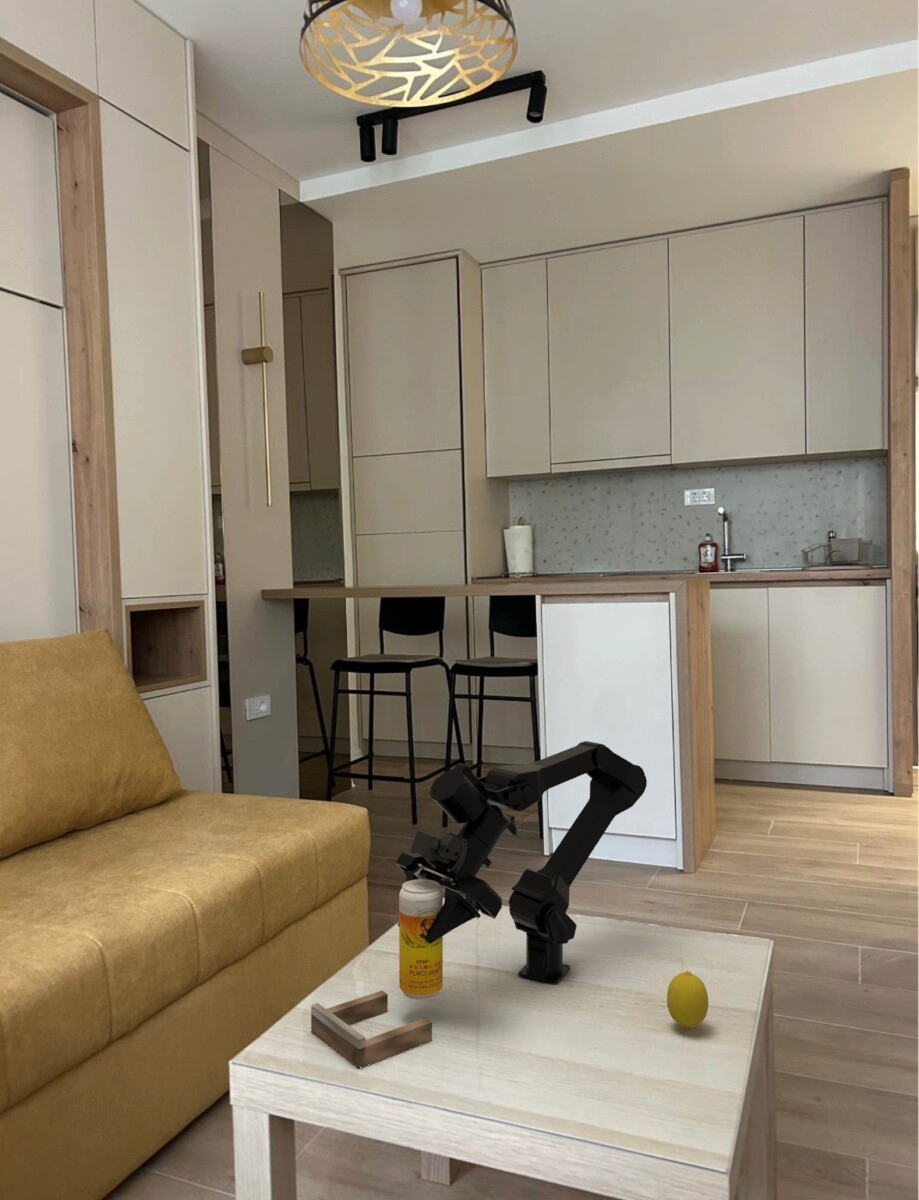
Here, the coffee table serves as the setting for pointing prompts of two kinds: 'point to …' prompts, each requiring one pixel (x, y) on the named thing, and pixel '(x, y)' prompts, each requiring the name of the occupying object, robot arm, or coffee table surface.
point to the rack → (352, 1044)
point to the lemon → (687, 1000)
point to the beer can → (419, 939)
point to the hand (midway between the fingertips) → (413, 934)
